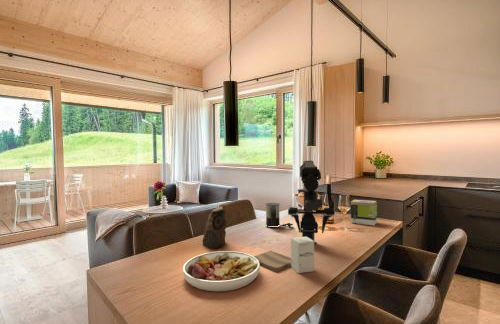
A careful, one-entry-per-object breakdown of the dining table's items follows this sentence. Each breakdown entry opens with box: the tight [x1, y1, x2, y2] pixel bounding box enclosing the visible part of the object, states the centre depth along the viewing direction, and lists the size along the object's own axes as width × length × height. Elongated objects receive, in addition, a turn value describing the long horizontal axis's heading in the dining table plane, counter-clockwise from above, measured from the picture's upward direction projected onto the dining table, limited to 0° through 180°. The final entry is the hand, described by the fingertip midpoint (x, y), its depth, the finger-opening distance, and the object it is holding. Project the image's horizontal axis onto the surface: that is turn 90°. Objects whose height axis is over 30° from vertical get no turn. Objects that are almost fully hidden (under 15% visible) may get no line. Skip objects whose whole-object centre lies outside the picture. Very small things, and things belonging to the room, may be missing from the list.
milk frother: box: [265, 202, 294, 227], centre depth 184 cm, size 14×16×15 cm
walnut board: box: [253, 250, 291, 273], centre depth 127 cm, size 13×16×2 cm
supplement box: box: [290, 236, 315, 274], centre depth 119 cm, size 7×7×13 cm
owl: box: [201, 205, 227, 251], centre depth 149 cm, size 13×13×20 cm
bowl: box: [182, 250, 261, 292], centre depth 114 cm, size 30×30×8 cm
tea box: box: [350, 199, 378, 226], centre depth 190 cm, size 15×10×15 cm, turn 58°
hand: (311, 232), depth 118 cm, fingers open, 9 cm apart
